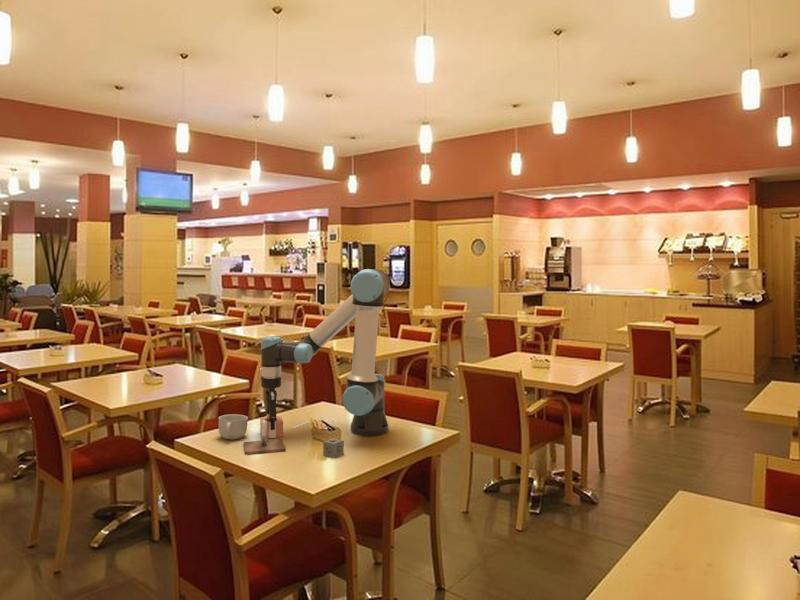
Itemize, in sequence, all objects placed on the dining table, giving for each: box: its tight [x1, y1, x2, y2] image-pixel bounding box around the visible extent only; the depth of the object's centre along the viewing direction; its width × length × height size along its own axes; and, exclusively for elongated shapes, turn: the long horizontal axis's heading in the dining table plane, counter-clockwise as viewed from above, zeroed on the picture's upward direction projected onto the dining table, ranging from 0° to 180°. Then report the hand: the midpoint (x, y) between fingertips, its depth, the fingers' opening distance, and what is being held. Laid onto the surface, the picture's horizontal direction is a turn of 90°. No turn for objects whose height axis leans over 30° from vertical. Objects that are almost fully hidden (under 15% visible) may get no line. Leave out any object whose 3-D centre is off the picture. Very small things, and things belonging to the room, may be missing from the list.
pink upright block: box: [259, 416, 284, 439], centre depth 227 cm, size 8×8×6 cm
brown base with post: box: [243, 420, 287, 456], centre depth 210 cm, size 14×12×10 cm
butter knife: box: [291, 420, 310, 429], centre depth 249 cm, size 1×27×3 cm
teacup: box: [218, 413, 249, 441], centre depth 221 cm, size 14×11×8 cm
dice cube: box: [322, 437, 345, 459], centre depth 203 cm, size 5×5×5 cm
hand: (271, 434), depth 227 cm, fingers open, 9 cm apart
